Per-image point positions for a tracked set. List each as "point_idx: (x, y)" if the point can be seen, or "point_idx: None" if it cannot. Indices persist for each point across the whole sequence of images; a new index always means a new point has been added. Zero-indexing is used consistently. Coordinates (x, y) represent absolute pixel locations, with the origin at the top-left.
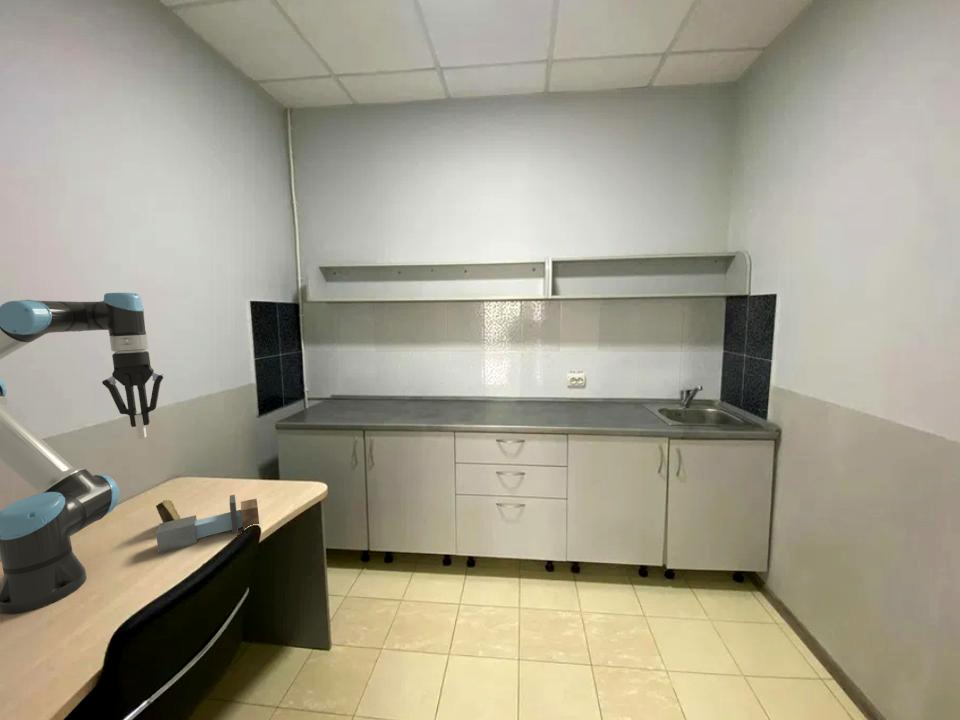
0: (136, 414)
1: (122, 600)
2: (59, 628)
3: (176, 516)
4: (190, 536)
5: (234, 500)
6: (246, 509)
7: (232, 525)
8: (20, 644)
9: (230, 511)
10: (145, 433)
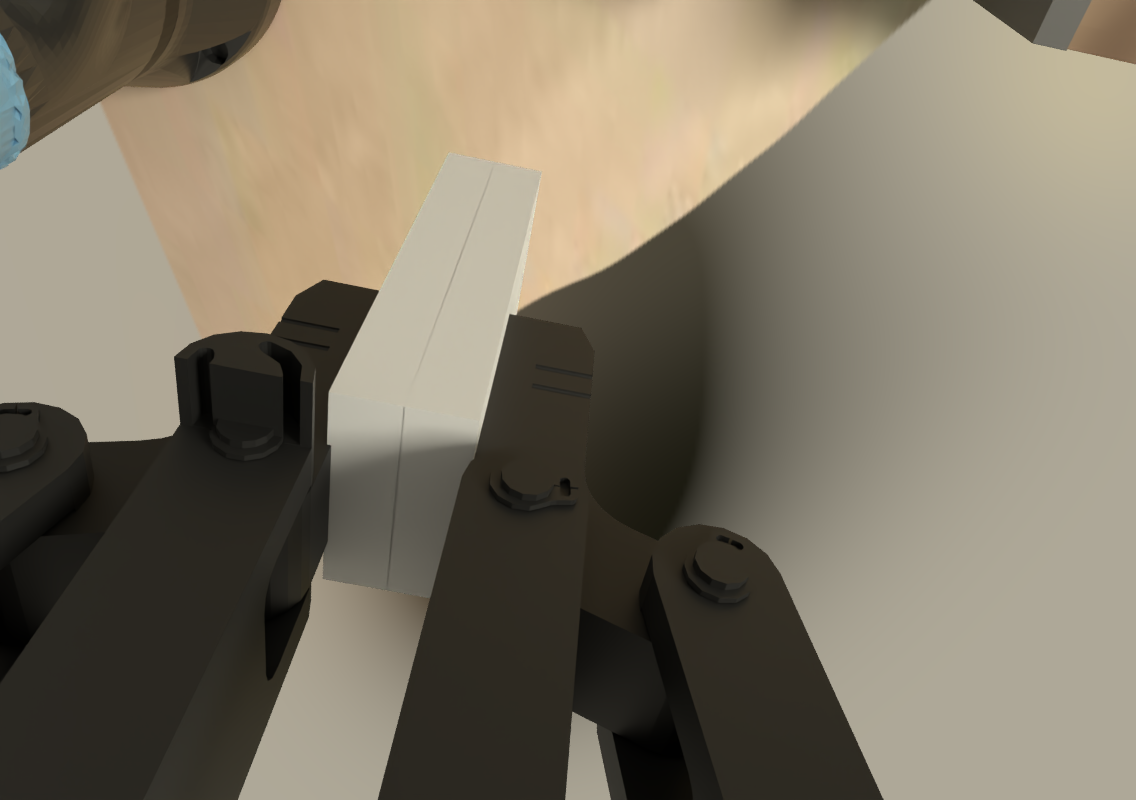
0: (343, 499)
1: None
2: (290, 281)
3: None
4: None
5: (1082, 13)
6: (1097, 55)
7: (980, 3)
8: (204, 286)
9: (1010, 26)
10: (525, 256)
